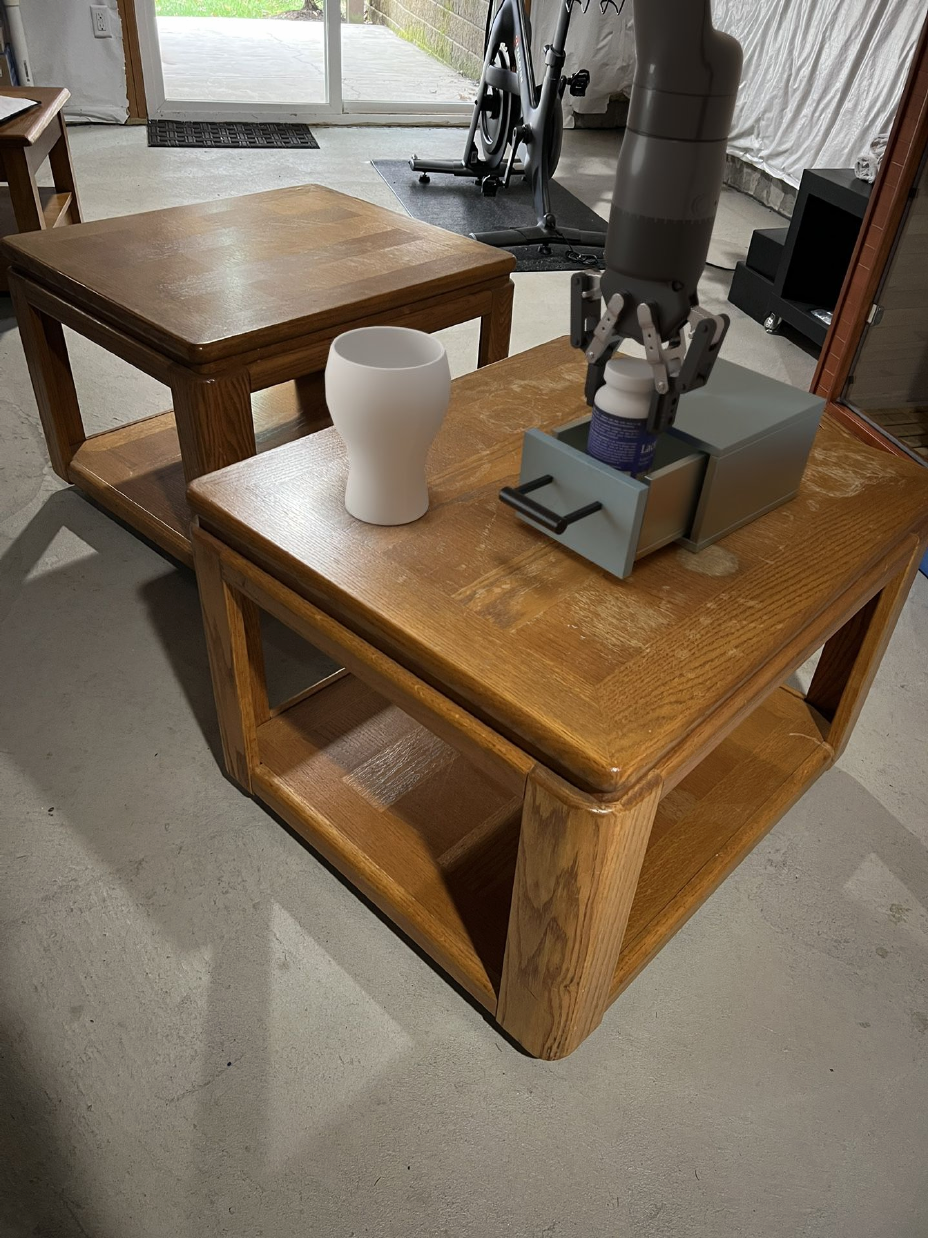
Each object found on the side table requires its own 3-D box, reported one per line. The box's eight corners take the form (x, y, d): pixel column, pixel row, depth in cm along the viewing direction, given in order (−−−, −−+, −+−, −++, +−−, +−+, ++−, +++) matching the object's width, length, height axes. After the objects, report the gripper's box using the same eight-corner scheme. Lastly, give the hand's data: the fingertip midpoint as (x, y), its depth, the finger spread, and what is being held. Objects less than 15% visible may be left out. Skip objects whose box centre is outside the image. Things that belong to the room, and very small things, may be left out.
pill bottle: (648, 497, 78) (671, 384, 72) (579, 488, 78) (597, 375, 72) (649, 466, 82) (671, 357, 76) (584, 457, 83) (601, 349, 77)
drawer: (575, 604, 74) (591, 513, 69) (468, 536, 81) (475, 448, 76) (730, 520, 86) (753, 437, 81) (625, 466, 93) (640, 387, 88)
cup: (426, 471, 92) (432, 320, 83) (458, 527, 84) (469, 367, 75) (319, 481, 89) (313, 326, 80) (341, 541, 81) (337, 376, 72)
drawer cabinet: (695, 553, 83) (721, 448, 77) (579, 490, 91) (595, 390, 84) (796, 496, 92) (827, 399, 86) (684, 444, 100) (705, 351, 94)
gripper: (779, 218, 65) (724, 438, 75) (621, 174, 73) (590, 378, 83) (716, 233, 61) (666, 464, 71) (555, 184, 69) (532, 398, 79)
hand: (625, 417), depth 77 cm, fingers closed on pill bottle, 5 cm apart
